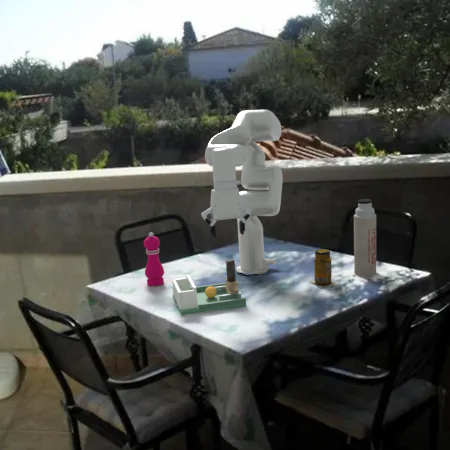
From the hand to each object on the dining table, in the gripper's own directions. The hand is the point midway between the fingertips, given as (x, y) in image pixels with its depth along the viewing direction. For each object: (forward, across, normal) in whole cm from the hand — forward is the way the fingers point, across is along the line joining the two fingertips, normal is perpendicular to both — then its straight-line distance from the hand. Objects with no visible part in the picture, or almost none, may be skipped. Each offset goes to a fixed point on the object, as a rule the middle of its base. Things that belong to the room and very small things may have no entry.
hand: (228, 235), depth 214 cm
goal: (+21, +16, 0) cm, 27 cm away
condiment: (+23, -35, -2) cm, 42 cm away
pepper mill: (+23, +23, -26) cm, 42 cm away
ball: (+19, +7, 0) cm, 21 cm away
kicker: (+21, 0, 0) cm, 21 cm away
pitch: (+23, +8, 0) cm, 24 cm away
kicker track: (+21, +1, 0) cm, 21 cm away
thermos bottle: (+22, -53, -6) cm, 58 cm away
